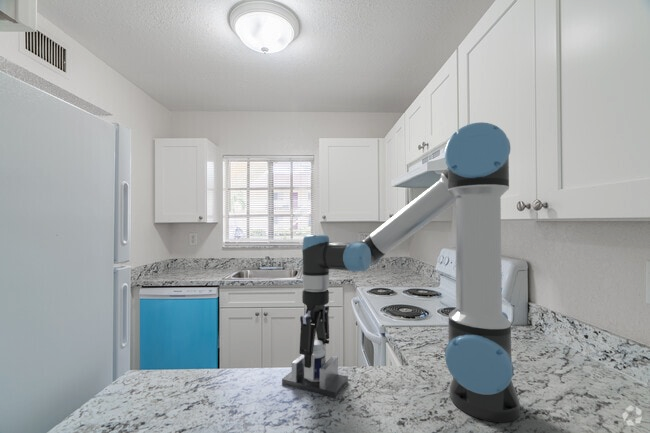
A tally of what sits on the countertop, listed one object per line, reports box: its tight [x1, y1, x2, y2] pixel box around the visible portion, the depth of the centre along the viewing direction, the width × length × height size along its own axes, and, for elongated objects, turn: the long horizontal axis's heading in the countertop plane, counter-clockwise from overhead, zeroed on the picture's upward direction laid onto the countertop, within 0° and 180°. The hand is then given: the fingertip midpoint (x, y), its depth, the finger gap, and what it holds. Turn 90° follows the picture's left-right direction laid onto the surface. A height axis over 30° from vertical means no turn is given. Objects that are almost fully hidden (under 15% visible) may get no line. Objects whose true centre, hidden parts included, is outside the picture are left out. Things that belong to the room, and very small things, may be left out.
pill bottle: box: [307, 339, 325, 382], centre depth 81 cm, size 5×5×10 cm
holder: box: [281, 354, 349, 399], centre depth 81 cm, size 16×9×6 cm, turn 65°
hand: (315, 372), depth 81 cm, fingers open, 7 cm apart
